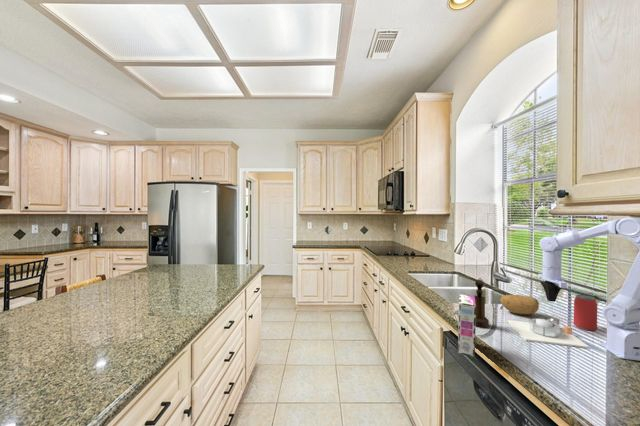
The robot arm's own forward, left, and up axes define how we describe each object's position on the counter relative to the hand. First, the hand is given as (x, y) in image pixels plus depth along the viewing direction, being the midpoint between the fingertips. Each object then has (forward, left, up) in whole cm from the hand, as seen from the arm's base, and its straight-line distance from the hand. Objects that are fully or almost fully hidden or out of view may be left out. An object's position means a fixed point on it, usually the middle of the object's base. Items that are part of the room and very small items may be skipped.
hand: (551, 300), depth 108 cm
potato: (+11, +7, -10) cm, 17 cm away
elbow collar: (-7, +4, -9) cm, 12 cm away
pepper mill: (-7, +27, -10) cm, 30 cm away
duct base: (-9, +6, -10) cm, 15 cm away
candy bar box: (-29, +36, -10) cm, 47 cm away
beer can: (+2, -12, -10) cm, 16 cm away
